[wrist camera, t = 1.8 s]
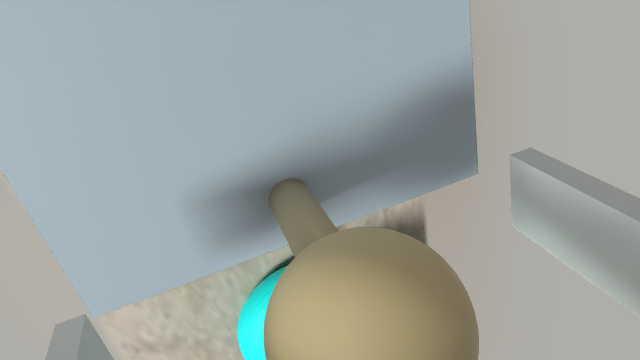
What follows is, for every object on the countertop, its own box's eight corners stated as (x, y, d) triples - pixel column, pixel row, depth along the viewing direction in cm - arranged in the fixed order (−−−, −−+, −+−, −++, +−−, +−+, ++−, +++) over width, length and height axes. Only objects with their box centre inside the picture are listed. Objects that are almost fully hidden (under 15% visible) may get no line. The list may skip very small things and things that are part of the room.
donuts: (230, 422, 22) (407, 323, 23) (209, 295, 31) (339, 228, 32) (303, 512, 27) (447, 427, 28) (268, 381, 36) (378, 320, 37)
